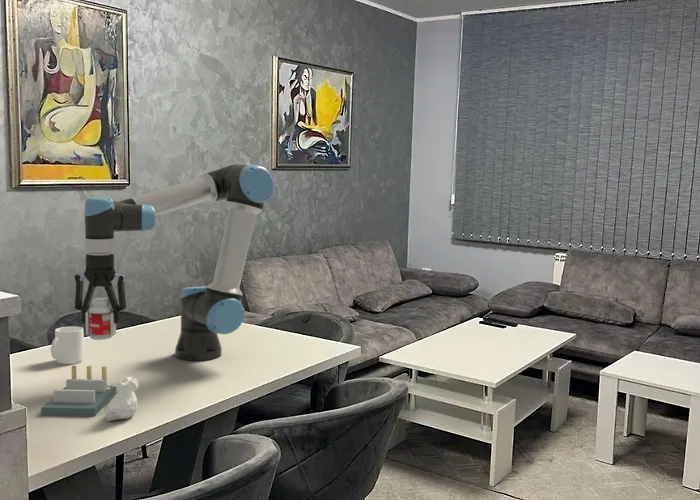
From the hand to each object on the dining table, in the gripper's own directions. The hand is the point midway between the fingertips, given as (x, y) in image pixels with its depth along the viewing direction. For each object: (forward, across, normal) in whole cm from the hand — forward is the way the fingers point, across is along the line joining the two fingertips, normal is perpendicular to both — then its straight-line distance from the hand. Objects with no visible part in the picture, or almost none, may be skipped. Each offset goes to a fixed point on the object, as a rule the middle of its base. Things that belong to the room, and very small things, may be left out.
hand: (101, 334), depth 198 cm
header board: (+14, 0, +18) cm, 23 cm away
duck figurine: (+14, -14, +27) cm, 34 cm away
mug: (+14, +17, -20) cm, 30 cm away
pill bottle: (+1, 0, 0) cm, 1 cm away
